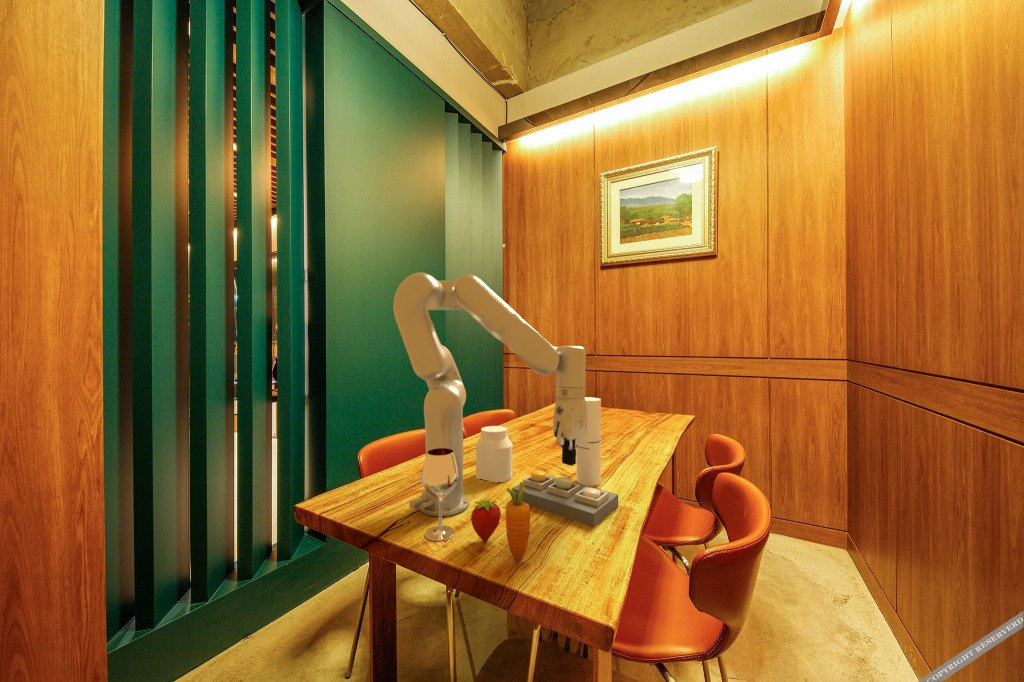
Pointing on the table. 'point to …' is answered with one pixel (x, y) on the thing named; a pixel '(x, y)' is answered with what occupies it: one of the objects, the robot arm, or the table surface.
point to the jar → (494, 455)
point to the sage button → (563, 482)
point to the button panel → (568, 500)
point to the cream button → (591, 493)
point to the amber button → (538, 476)
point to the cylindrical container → (590, 446)
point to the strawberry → (485, 518)
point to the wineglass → (440, 485)
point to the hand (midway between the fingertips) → (568, 463)
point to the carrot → (517, 524)
